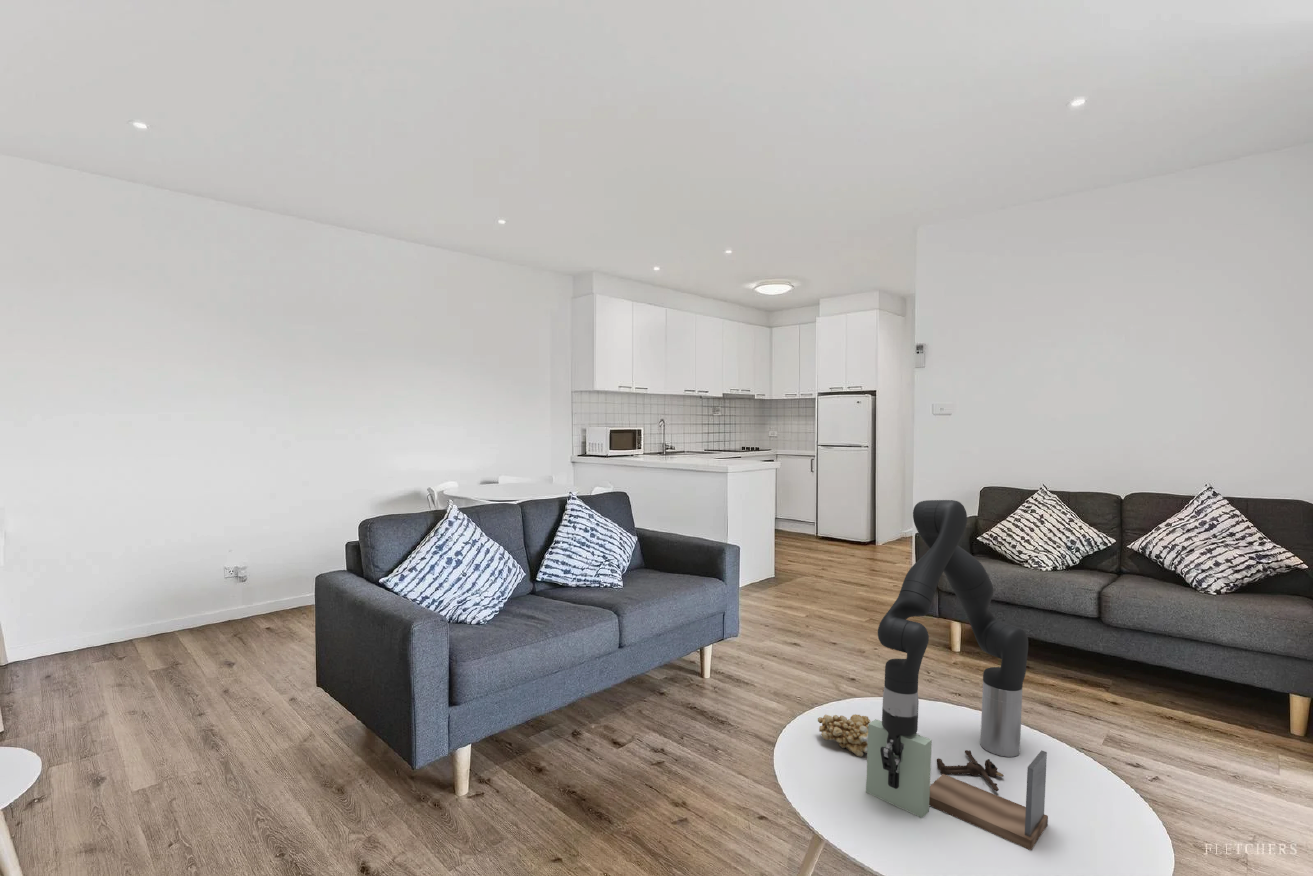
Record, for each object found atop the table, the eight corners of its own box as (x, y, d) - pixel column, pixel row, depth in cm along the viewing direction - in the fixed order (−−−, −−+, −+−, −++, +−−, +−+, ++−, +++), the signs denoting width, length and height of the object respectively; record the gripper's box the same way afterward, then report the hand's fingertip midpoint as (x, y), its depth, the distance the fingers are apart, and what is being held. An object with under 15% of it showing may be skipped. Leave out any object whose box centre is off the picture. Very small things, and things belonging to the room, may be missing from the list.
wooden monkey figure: (926, 742, 167) (984, 740, 165) (927, 758, 167) (985, 757, 166) (952, 780, 149) (1017, 779, 148) (953, 799, 149) (1018, 797, 148)
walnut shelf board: (942, 782, 153) (943, 773, 153) (1047, 825, 137) (1047, 815, 137) (921, 802, 144) (922, 793, 144) (1031, 850, 129) (1031, 840, 129)
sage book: (873, 786, 150) (875, 719, 150) (928, 811, 141) (931, 739, 141) (866, 792, 148) (868, 723, 147) (922, 818, 139) (925, 745, 138)
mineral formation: (871, 762, 161) (811, 745, 167) (875, 747, 173) (818, 731, 179) (875, 729, 162) (815, 713, 168) (878, 716, 174) (822, 702, 180)
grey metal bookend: (1038, 814, 138) (1041, 750, 137) (1044, 816, 137) (1046, 752, 137) (1024, 835, 131) (1027, 767, 130) (1030, 837, 130) (1033, 769, 130)
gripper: (897, 693, 152) (895, 765, 152) (869, 711, 142) (866, 788, 142) (929, 704, 146) (926, 778, 147) (902, 723, 136) (899, 803, 137)
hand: (897, 783), depth 144 cm, fingers closed on sage book, 3 cm apart
